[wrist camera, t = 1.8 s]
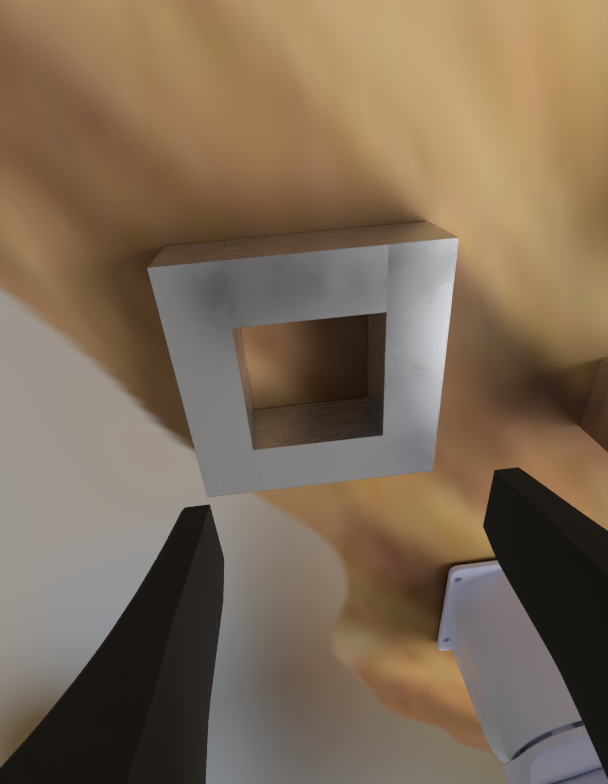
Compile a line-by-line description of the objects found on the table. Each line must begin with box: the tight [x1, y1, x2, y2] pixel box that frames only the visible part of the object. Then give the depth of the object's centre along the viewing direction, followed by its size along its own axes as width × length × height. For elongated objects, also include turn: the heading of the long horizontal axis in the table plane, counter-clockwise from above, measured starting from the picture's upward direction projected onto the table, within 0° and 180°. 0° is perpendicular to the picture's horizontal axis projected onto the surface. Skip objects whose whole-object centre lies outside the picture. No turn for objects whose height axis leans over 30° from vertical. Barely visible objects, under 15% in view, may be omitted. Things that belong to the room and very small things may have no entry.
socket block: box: [147, 221, 459, 497], centre depth 18 cm, size 10×10×3 cm
